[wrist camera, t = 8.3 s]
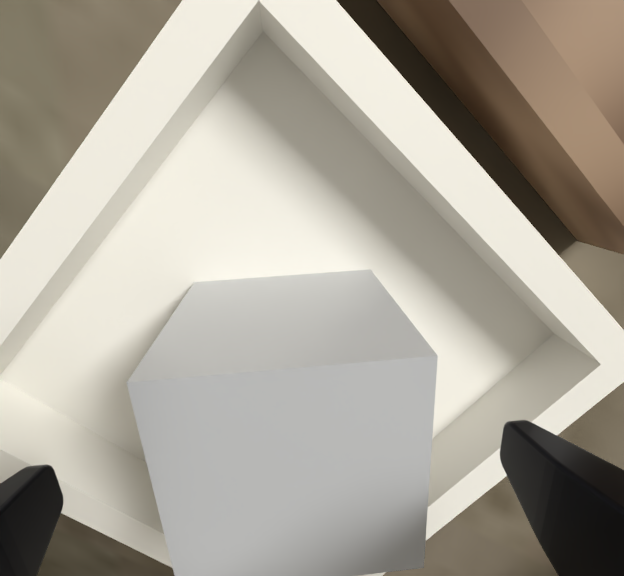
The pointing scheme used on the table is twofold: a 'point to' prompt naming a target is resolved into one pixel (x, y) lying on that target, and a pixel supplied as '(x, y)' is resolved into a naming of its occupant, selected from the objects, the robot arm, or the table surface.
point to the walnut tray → (539, 94)
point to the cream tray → (279, 253)
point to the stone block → (289, 428)
